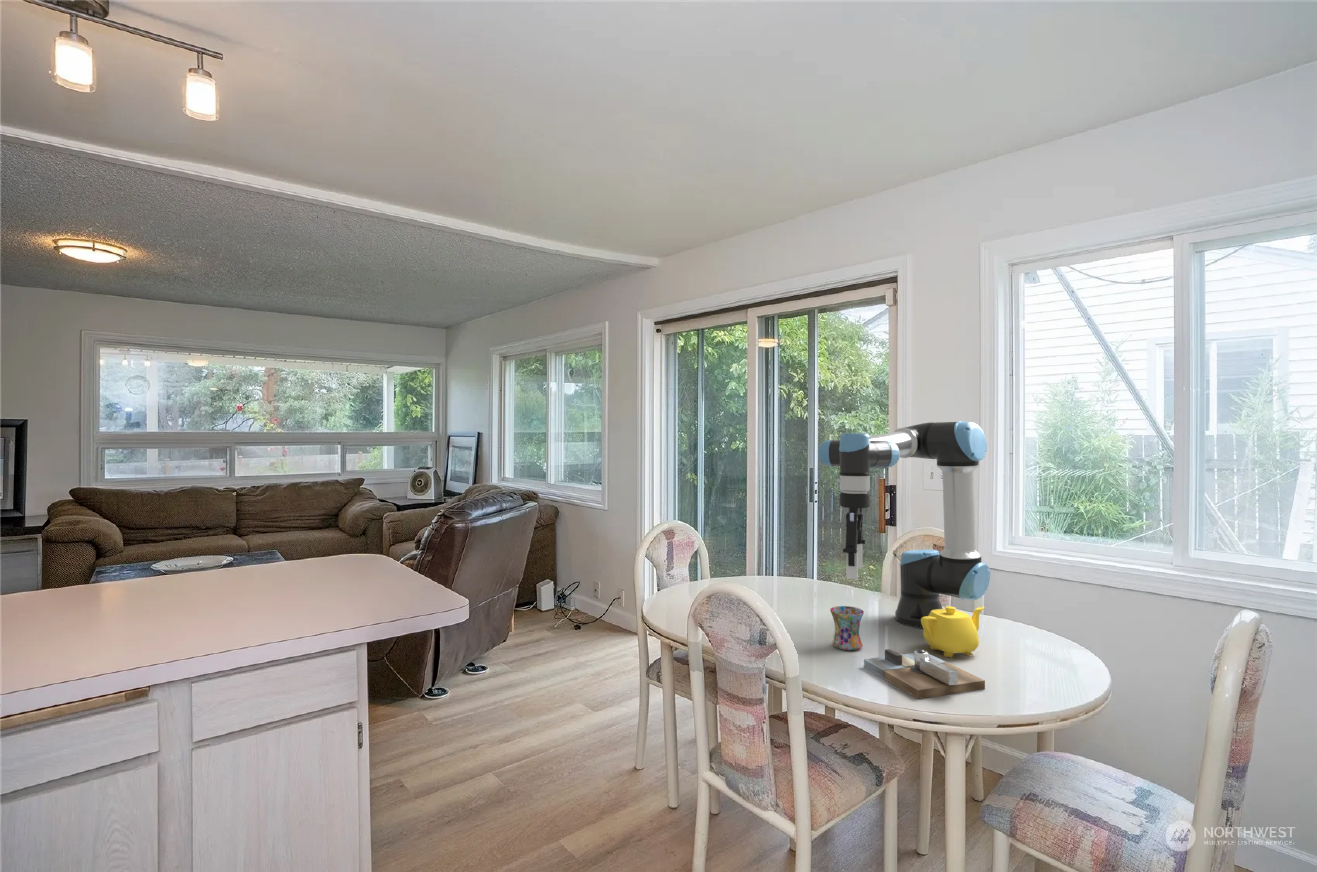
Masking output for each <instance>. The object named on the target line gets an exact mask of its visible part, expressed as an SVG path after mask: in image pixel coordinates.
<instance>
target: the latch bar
mask: <svg viewBox="0 0 1317 872" xmlns="http://www.w3.org/2000/svg"><path fill="white" fill-rule="evenodd" d="M913 653H914V667H915V668H916V669H918V670H921V671H923V672H925V673H927V674H929V675H931V676H932V677H934V678H936V679H938V680H940V681H942V682H944V683H946V684H948V685H954V684H958V671H957V670H954V669H952V668H950V667H948V666H946V665H944V664H942V663H940V662H938V661H936V660H934V659H932V658H930V657H928V654H929V652H928V651H927V650H925V649H922V648H918V649H915V650H914V652H913Z"/></svg>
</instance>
